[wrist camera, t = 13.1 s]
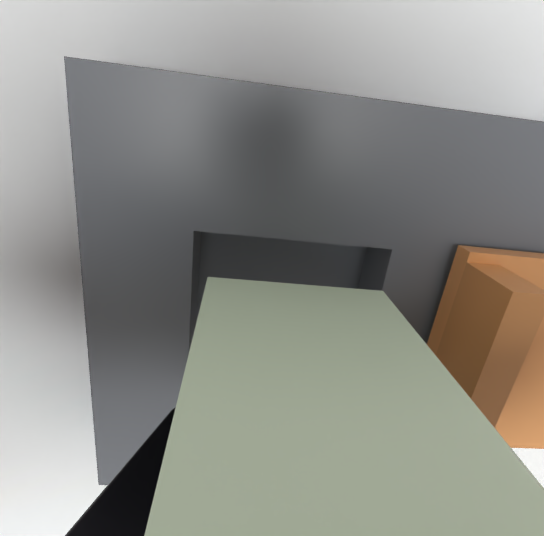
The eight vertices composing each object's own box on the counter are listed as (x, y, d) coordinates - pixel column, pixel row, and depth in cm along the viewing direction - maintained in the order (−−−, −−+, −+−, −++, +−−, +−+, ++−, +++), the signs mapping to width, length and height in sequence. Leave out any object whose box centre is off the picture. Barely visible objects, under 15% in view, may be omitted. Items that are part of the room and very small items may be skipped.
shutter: (399, 429, 13) (432, 496, 11) (458, 245, 11) (517, 279, 8) (556, 436, 14) (619, 500, 11) (648, 263, 11) (753, 300, 9)
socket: (120, 431, 16) (98, 484, 14) (103, 70, 11) (64, 56, 8) (445, 443, 17) (476, 492, 15) (565, 132, 12) (639, 134, 10)
